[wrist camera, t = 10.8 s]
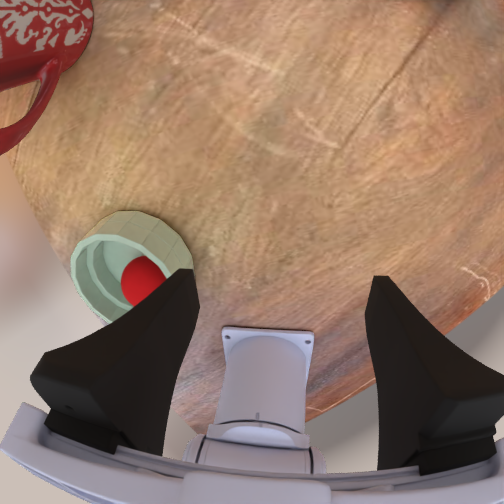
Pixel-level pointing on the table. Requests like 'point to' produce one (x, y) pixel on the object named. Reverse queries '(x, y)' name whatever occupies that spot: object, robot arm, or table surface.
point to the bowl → (122, 258)
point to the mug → (39, 51)
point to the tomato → (140, 279)
